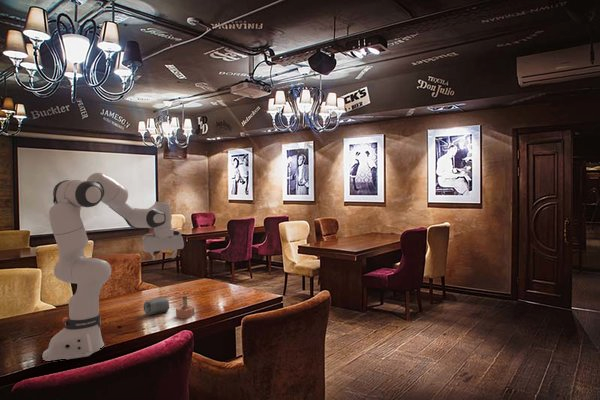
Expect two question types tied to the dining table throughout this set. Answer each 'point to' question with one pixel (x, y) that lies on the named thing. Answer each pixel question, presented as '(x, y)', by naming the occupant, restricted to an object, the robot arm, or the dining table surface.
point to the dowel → (184, 302)
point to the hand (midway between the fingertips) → (164, 259)
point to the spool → (156, 306)
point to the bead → (185, 312)
